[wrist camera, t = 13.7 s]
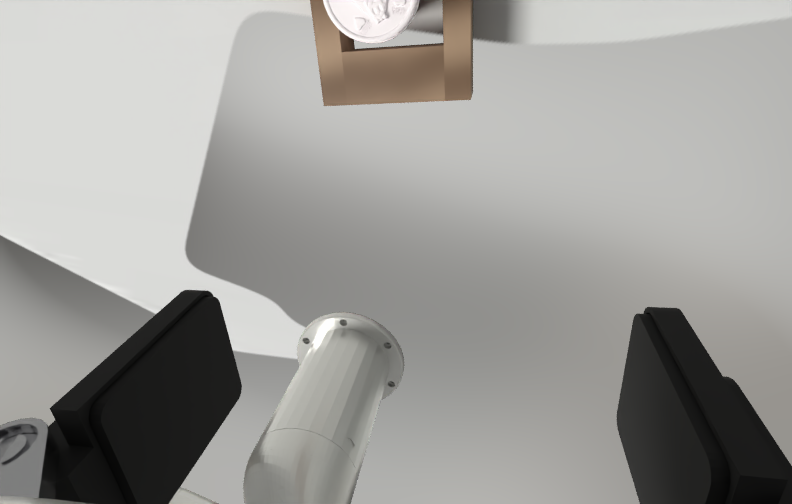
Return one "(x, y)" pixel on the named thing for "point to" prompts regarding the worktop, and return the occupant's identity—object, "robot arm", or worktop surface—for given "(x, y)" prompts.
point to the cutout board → (396, 63)
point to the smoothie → (371, 18)
